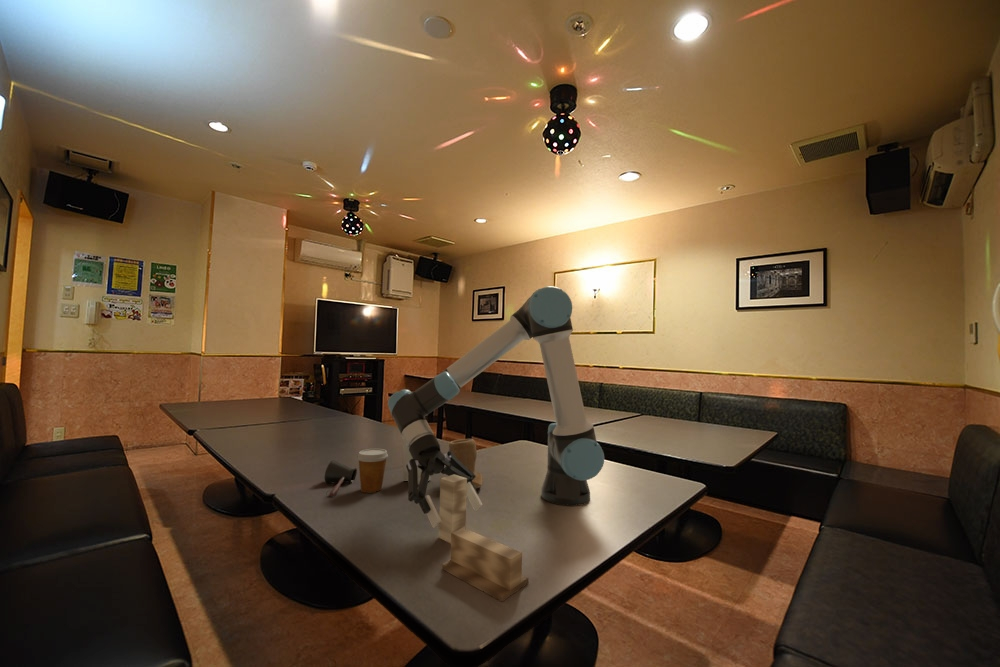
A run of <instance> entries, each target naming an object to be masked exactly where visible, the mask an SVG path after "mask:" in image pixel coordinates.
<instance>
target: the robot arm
mask: <svg viewBox="0 0 1000 667" xmlns="http://www.w3.org/2000/svg"><path fill="white" fill-rule="evenodd" d="M572 314H573V302H572V299H571V298H570V296H569V295H568V293H567V292H565V291H564V290H563V289H561V288H560V287H557V286H550V285H549V286H544V287H541V288H537V290H535V291H534V292H533V293H532V294H531V295H530V296H529V297H528V298H527V299H526V301H525V302H524V303H523V304H522V305H521V307H519V309H518V310H516V311H515V312H514V313H512V314H511V315H510V319H509V320H508V321H507V322H506V323H505V324H503V325H502V326H501V327H499V328H498V329H497V330H496V331H494V332H493V333H491V334H490V335H488V337H486V338H485V339H483V340H482V341H481V342H480V343H478V344H477V345H475V347H472V349H470V350H469V351H468V352H467V353H465V354H463V356H461V357H460V358H458V359H457V360H456V361H454V362H453V363H452V364H450V365H449V366H448V367H447V368H445V369H444V370H442V371H441V372H440V373H439V374H437V375H435V376H434V377H433V378H431V379H430V380H429V381H428V382H426V383H424V384H423V385H422V386H420V387H418V388H417V389H416V390H414V391H411V390H410V389H405V388H404V389H401V390H399V391H396V392H394V393H393V394H392V395H391V396H390V397H389V398H388V400H387V407H388V410H389V411H390V415H391V418H392V419H393V420H394V423H395V424H396V426H397V428H398V430H399V432H400V435H401V437H402V440H403V439H404V441H405V443H406V445H407V447H408V448H409V452H410V454H411V456H412V458H413V459H411V460H410V461H409V462H408V464H407V465H406V468H407V470H408V482H407V484H408V485H407V487H408V488H407V490H408V491H407V492H408V493H407V494H408V496H407V497H408V498H407V500H408V501H409V502H411V503H412V502H414V504H415V505H418V504H419V506H420V508H421V511H422V512H423V514H425V515H426V516H427V518H428V520H429V522H430V524H431V527H432V528H433V529H434V528H436V527H437V526H439V523H440V522H441V519H440V517H439V513H438V510H437V509H436V507H435V505H434V502H433V501H432V498H431V495H429V494H427V489H428V484H429V482H428V480H429V475H430V476H431V477H432V476H433V475H438V474H442V475H446V476H450V475H454V474H455V475H458V476H461V477H464V478H467V496H466V498H467V499H468V501H469V503H470V504H471V507H472V508H473V510H474V512H476V511H478V510H479V509H480V508H481V507H482V506H483V503H482V500H481V499H480V497H479V495H478V490H477V488H476V489H475V487H474V485H473V483H472V480H473V479H474V478H475V477H476V476H475V474H474V473H472V472H471V471H470V470H469V469H468V468H467V467H466V466H465V465H464V464H463V463H461V462H460V461H459V460H458V459H457V458H456V457H455V456H454V454H453V453H452V451H449V450H448V451H447V452H446V453H443V452H442V451H441V445H440V443H439V441H438V438H437V437H436V436H435V435H434V432H433V430H432V428H431V426H430V424H429V423H428V420H427V419H426V417H427V415H429V414H431V413H432V412H433V411H435V410H437V409H438V408H440V407H441V406H443V405H445V404H446V403H447V402H449V401H451V400H452V399H453V398H454V397H456V396H457V395H458V394H459V393H460V391H461V390H460V389H461V388H463V387H464V386H465V385H466V384H468V383H469V382H471V381H472V380H474V378H476V377H477V376H478V375H480V374H481V373H482V372H483V371H485V370H486V369H487V368H489V367H490V366H491V365H492V364H494V363H495V362H497V361H498V360H499V359H501V358H502V357H503V356H504V355H506V354H507V353H509V352H510V351H511V350H513V349H514V348H515V347H516V346H518V345H519V344H520V343H522V342H523V341H524V340H525V341H530V340H531V339H533V341H536V342H537V343H538V344H539V348H540V353H541V357H542V358H541V359H542V362H543V367H544V372H545V377H546V381H547V386H548V391H549V396H550V400H551V405H552V406H551V407H552V410H553V414H554V420H555V422H554V423H553V422H552V423H550V424H549V425H548V426H547V427H548V428H547V467H546V468H547V470H546V474H545V477H544V479H543V483H542V486H541V494H540V495H541V498H543V500H545V501H547V502H549V503H552V504H555V505H559V506H560V505H561V506H569V507H570V506H581V505H585V504H588V503H589V502H590V501H591V490H590V488H589V484H588V480H589V481H590V480H591V479H593V478H595V477H596V476H598V474H599V473H600V472H601V470H602V469H603V467H604V465H605V464H604V463H605V453H604V450H603V449H602V446H601V445H600V444H599V443H598V442H597V437H596V432H595V427H594V424H593V423H591V421H589V420H587V417H586V412H585V406H584V402H583V398H582V397H583V396H582V393H581V388H580V383H579V378H578V373H577V370H576V363H575V360H574V354H573V350H572V346H571V341H570V336H571V335H572V333H573V332H574V328H573V323H572V319H571V318H572ZM417 467H418V468H420V469H421V470H422V472H421V476H420V478H421V479H420V483H419V484H418V471H417ZM469 476H470V477H469ZM426 494H427V495H426Z"/></svg>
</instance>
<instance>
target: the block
mask: <svg viewBox="0 0 1000 667" xmlns="http://www.w3.org/2000/svg"><path fill="white" fill-rule="evenodd" d="M439 483H440V488H439V513H438V515H439V517H440V519H441V522H440V523H439V524H438V539H440V540H443V541H445V542H446V543H449V544H451V533H452V532H455V531H457V530H459V529H461V528H465V529H467V527H466V526H467V524H466V523H467V478H464V477H461V476H458V475H455V474H454V475H450V476H448V475H446V476H444V477H441V478H440V482H439Z"/></svg>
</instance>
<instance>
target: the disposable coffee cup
mask: <svg viewBox="0 0 1000 667" xmlns="http://www.w3.org/2000/svg"><path fill="white" fill-rule="evenodd" d="M388 457H389V454H388V450H386V449H383V448H368V449H367V448H366V449H363V450H360V451H359V452H358V455H357V456H356V458H357V460H358V469H359V481H360V482H359V483H360V491H361V490H362V491H363V492H362V491H361V492H362V493H365V492H373V493H377V492H376V491H378V492H380V491H381V490H382V487H383V482H384V475H385V469H386V463H387V459H388ZM379 490H380V491H379Z"/></svg>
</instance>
